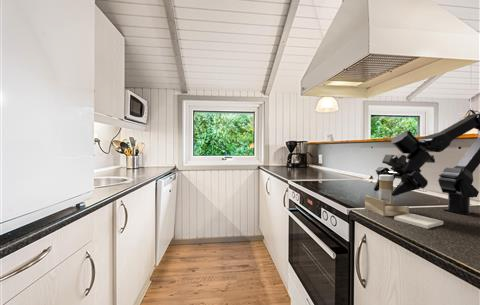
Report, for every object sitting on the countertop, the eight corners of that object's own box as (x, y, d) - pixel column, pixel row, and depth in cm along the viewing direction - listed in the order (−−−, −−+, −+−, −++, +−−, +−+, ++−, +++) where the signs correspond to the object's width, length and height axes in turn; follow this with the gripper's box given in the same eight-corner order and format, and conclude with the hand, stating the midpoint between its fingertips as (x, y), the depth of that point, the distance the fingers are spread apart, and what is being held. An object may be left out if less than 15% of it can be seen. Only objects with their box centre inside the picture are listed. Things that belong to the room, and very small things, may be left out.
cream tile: (410, 216, 76) (410, 213, 76) (443, 224, 68) (443, 221, 68) (394, 219, 72) (394, 216, 72) (427, 228, 64) (427, 225, 64)
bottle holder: (388, 208, 87) (388, 195, 87) (409, 215, 77) (409, 200, 77) (364, 208, 86) (365, 195, 86) (383, 215, 76) (383, 201, 76)
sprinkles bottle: (395, 212, 81) (396, 175, 81) (389, 214, 78) (390, 176, 78) (381, 209, 85) (382, 174, 84) (375, 211, 82) (376, 174, 82)
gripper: (380, 147, 91) (353, 174, 90) (420, 146, 72) (386, 180, 72) (398, 166, 91) (372, 193, 91) (442, 171, 73) (409, 205, 72)
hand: (383, 192), depth 81 cm, fingers open, 9 cm apart
